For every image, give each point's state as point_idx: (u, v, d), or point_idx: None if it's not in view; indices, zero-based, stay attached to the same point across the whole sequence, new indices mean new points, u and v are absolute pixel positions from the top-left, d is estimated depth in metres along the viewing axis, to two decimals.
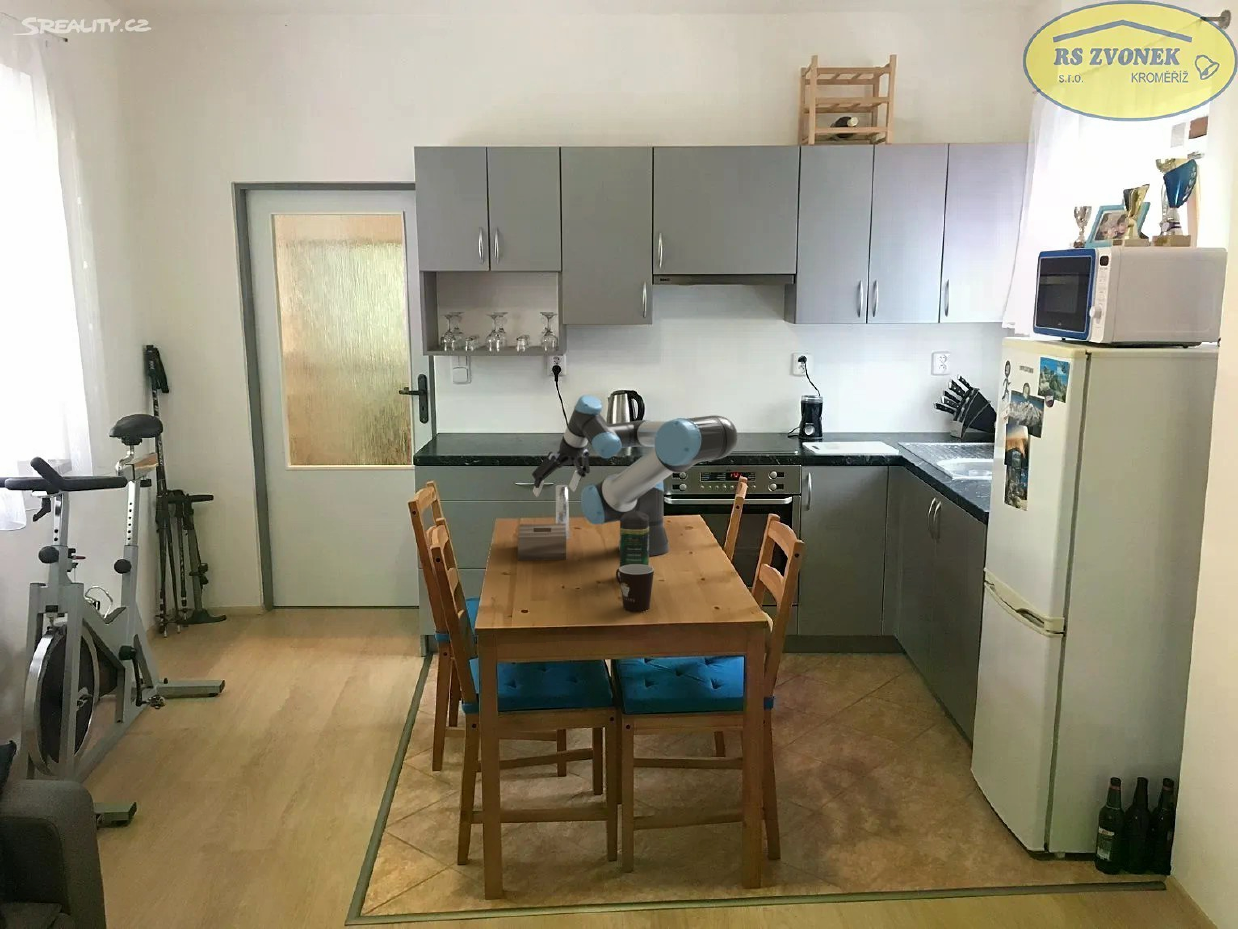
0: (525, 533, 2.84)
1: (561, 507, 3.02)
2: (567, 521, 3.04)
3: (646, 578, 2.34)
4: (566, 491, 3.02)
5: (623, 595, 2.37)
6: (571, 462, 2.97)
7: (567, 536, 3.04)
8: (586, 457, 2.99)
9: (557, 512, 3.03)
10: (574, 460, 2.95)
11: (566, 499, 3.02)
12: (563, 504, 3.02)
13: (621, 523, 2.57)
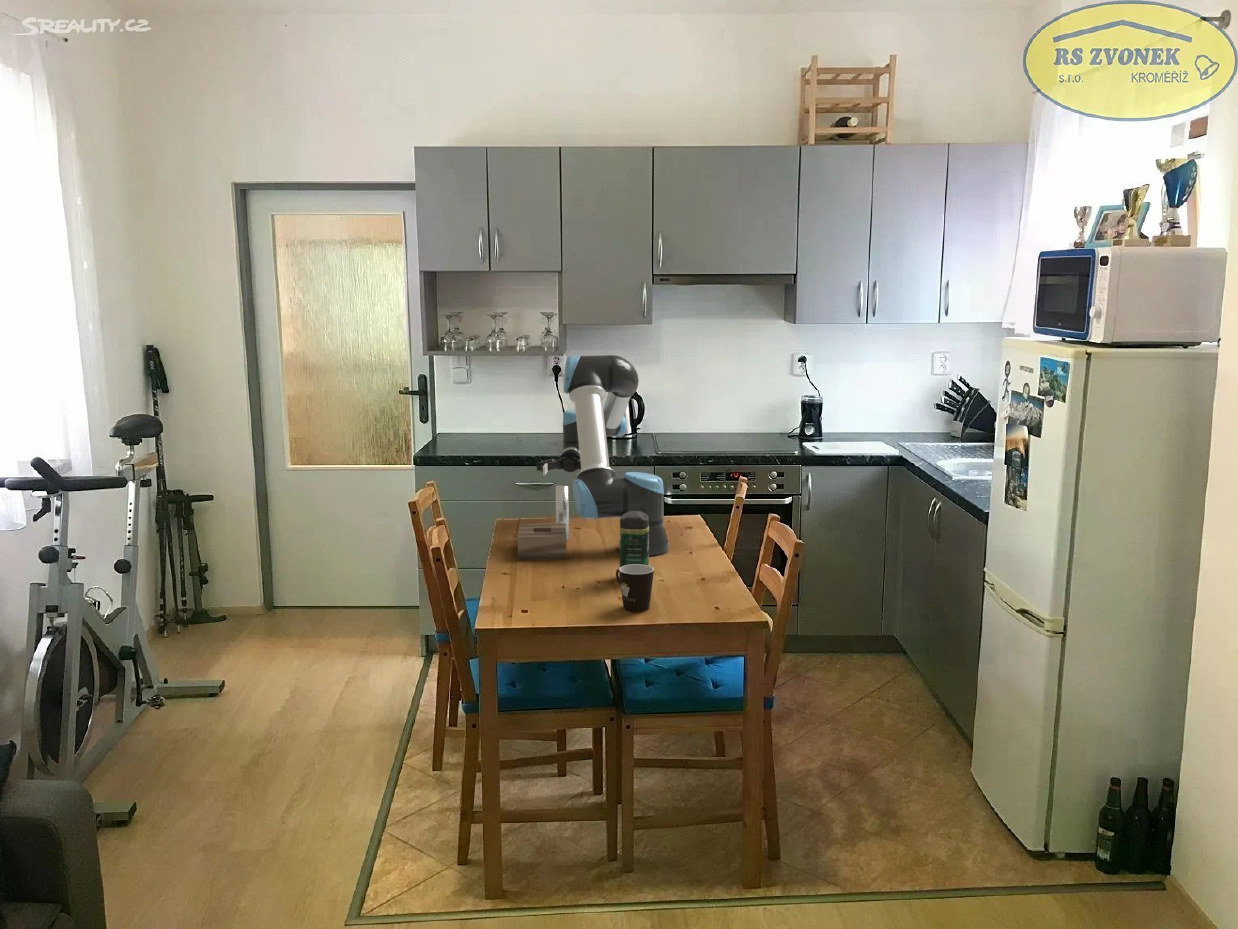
0: (525, 533, 2.84)
1: (561, 507, 3.02)
2: (567, 521, 3.04)
3: (646, 578, 2.34)
4: (566, 491, 3.02)
5: (623, 595, 2.37)
6: (572, 460, 3.24)
7: (567, 536, 3.04)
8: None
9: (557, 512, 3.03)
10: (572, 457, 3.26)
11: (566, 499, 3.02)
12: (563, 504, 3.02)
13: (621, 523, 2.57)
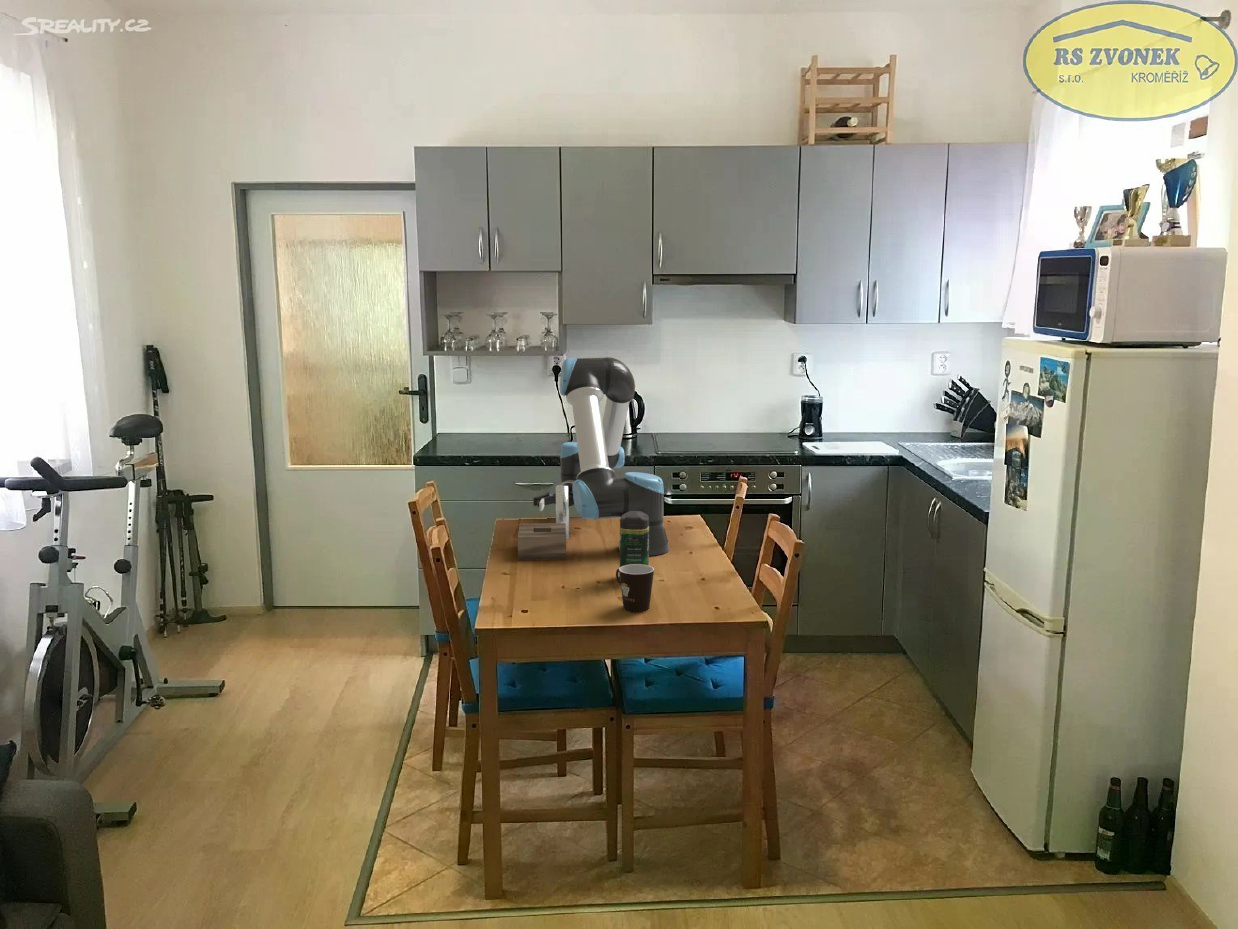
0: (525, 533, 2.84)
1: (561, 507, 3.02)
2: (567, 521, 3.04)
3: (646, 578, 2.34)
4: (566, 491, 3.02)
5: (623, 595, 2.37)
6: (569, 495, 3.18)
7: (567, 536, 3.04)
8: None
9: (557, 512, 3.03)
10: (570, 491, 3.19)
11: (566, 499, 3.02)
12: (563, 504, 3.02)
13: (621, 523, 2.57)
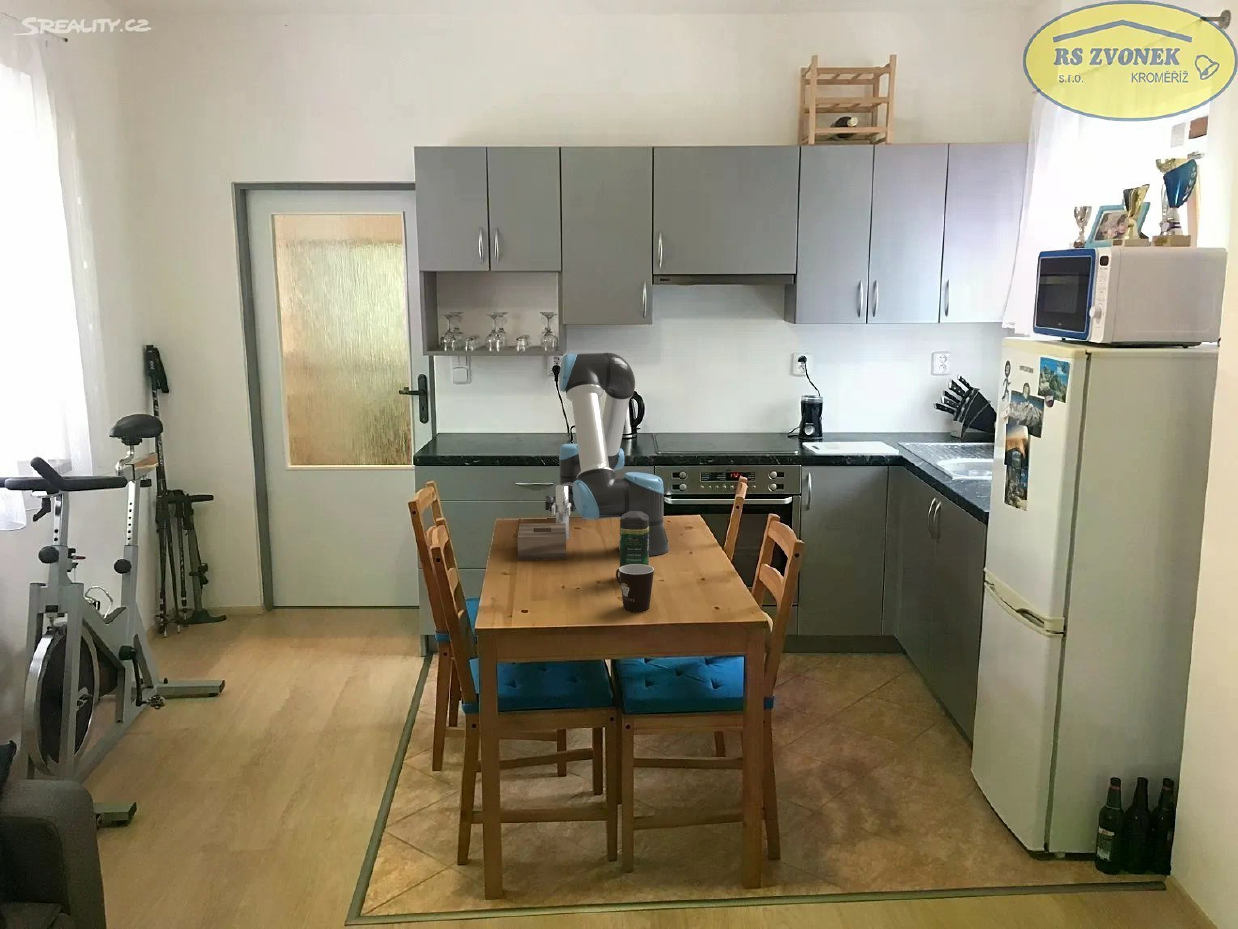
0: (525, 533, 2.84)
1: (561, 507, 3.02)
2: (567, 521, 3.04)
3: (646, 578, 2.34)
4: (566, 491, 3.02)
5: (623, 595, 2.37)
6: (569, 497, 3.13)
7: (567, 536, 3.04)
8: None
9: (557, 512, 3.03)
10: (569, 494, 3.15)
11: (566, 499, 3.02)
12: (563, 504, 3.02)
13: (621, 523, 2.57)
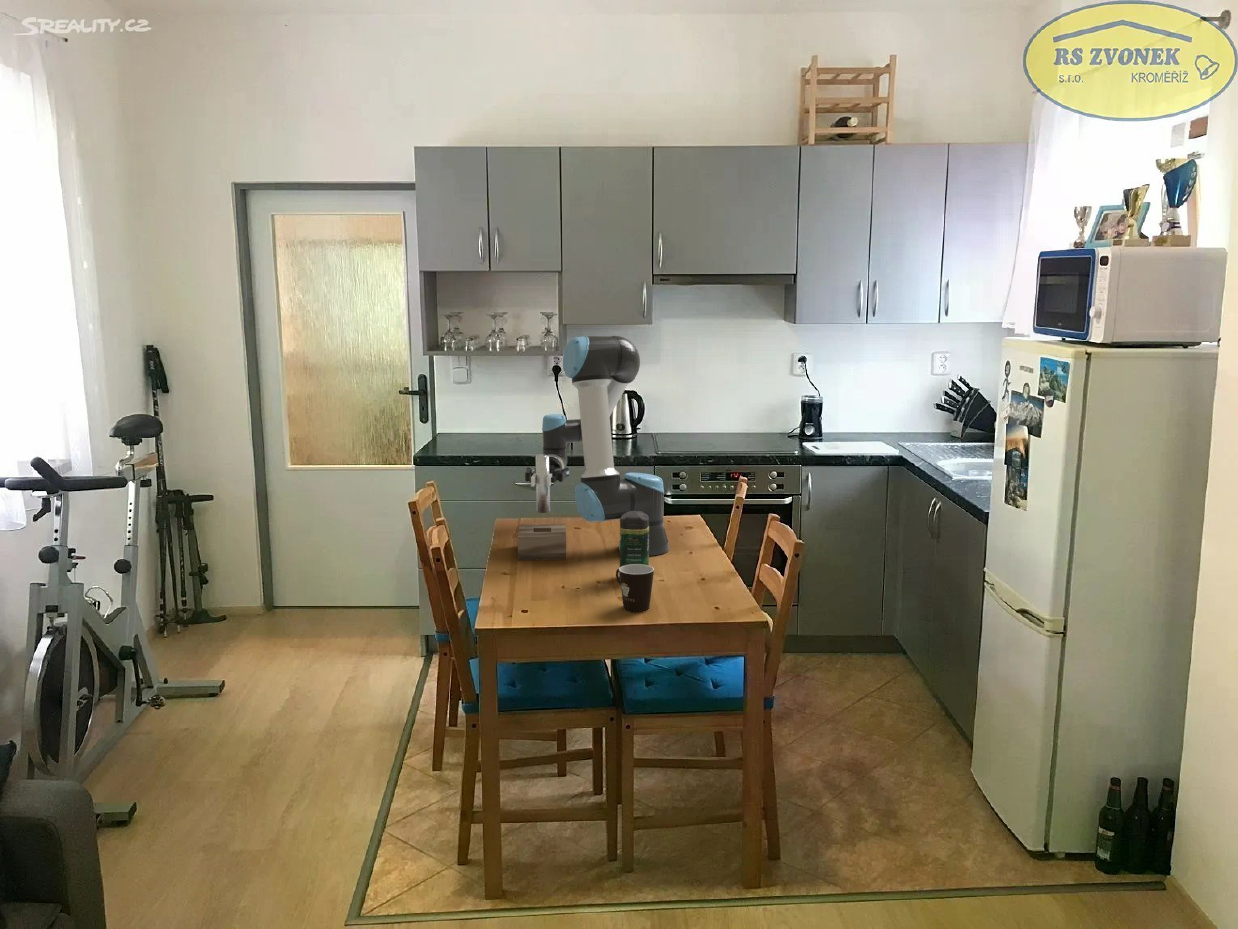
0: (525, 533, 2.84)
1: (541, 478, 2.87)
2: (548, 493, 2.88)
3: (646, 578, 2.34)
4: (546, 461, 2.86)
5: (623, 595, 2.37)
6: None
7: (548, 508, 2.89)
8: (564, 469, 2.98)
9: (537, 483, 2.88)
10: (551, 465, 2.99)
11: (547, 469, 2.87)
12: (543, 474, 2.86)
13: (621, 523, 2.57)
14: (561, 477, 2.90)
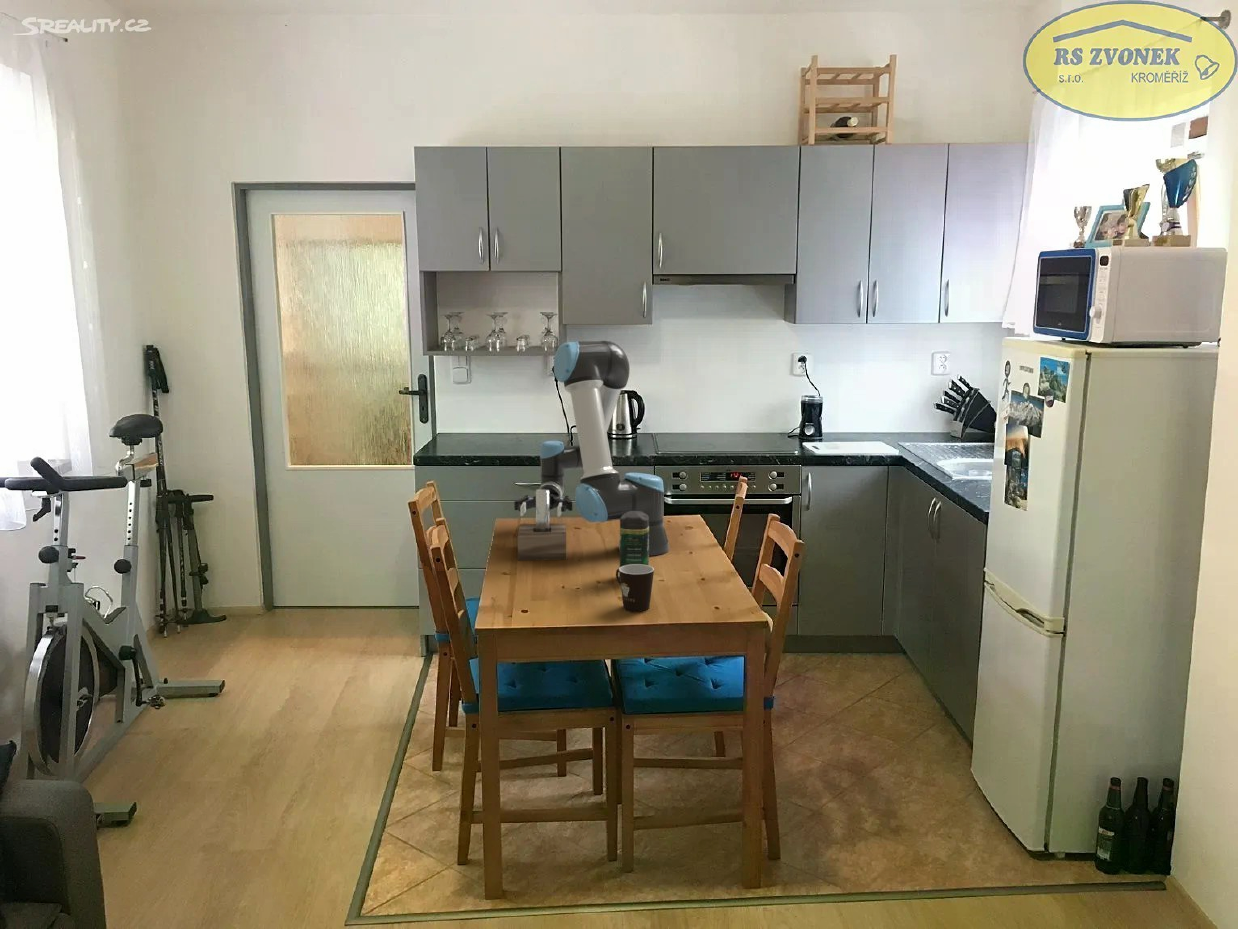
0: (525, 533, 2.84)
1: (541, 513, 2.85)
2: (547, 527, 2.87)
3: (646, 578, 2.34)
4: (547, 496, 2.85)
5: (623, 595, 2.37)
6: None
7: None
8: (565, 497, 2.97)
9: (537, 518, 2.86)
10: (550, 494, 2.98)
11: (547, 504, 2.86)
12: (543, 509, 2.85)
13: (621, 523, 2.57)
14: (571, 506, 2.90)
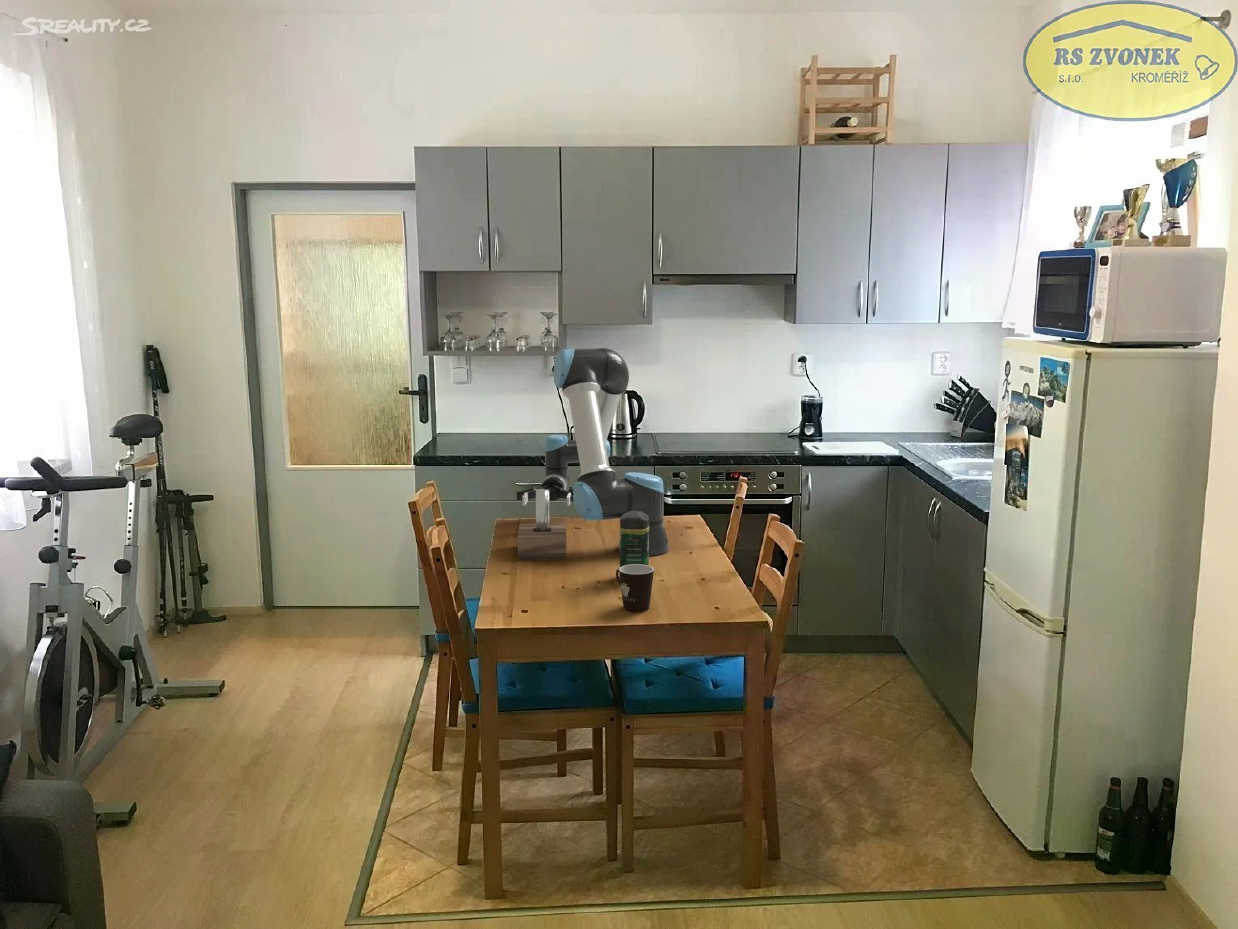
0: (525, 533, 2.84)
1: (541, 512, 2.86)
2: (547, 527, 2.87)
3: (646, 578, 2.34)
4: (547, 496, 2.85)
5: (623, 595, 2.37)
6: (554, 489, 3.09)
7: None
8: (570, 488, 3.10)
9: (537, 518, 2.86)
10: (554, 485, 3.10)
11: (547, 504, 2.86)
12: (543, 509, 2.85)
13: (621, 523, 2.57)
14: None
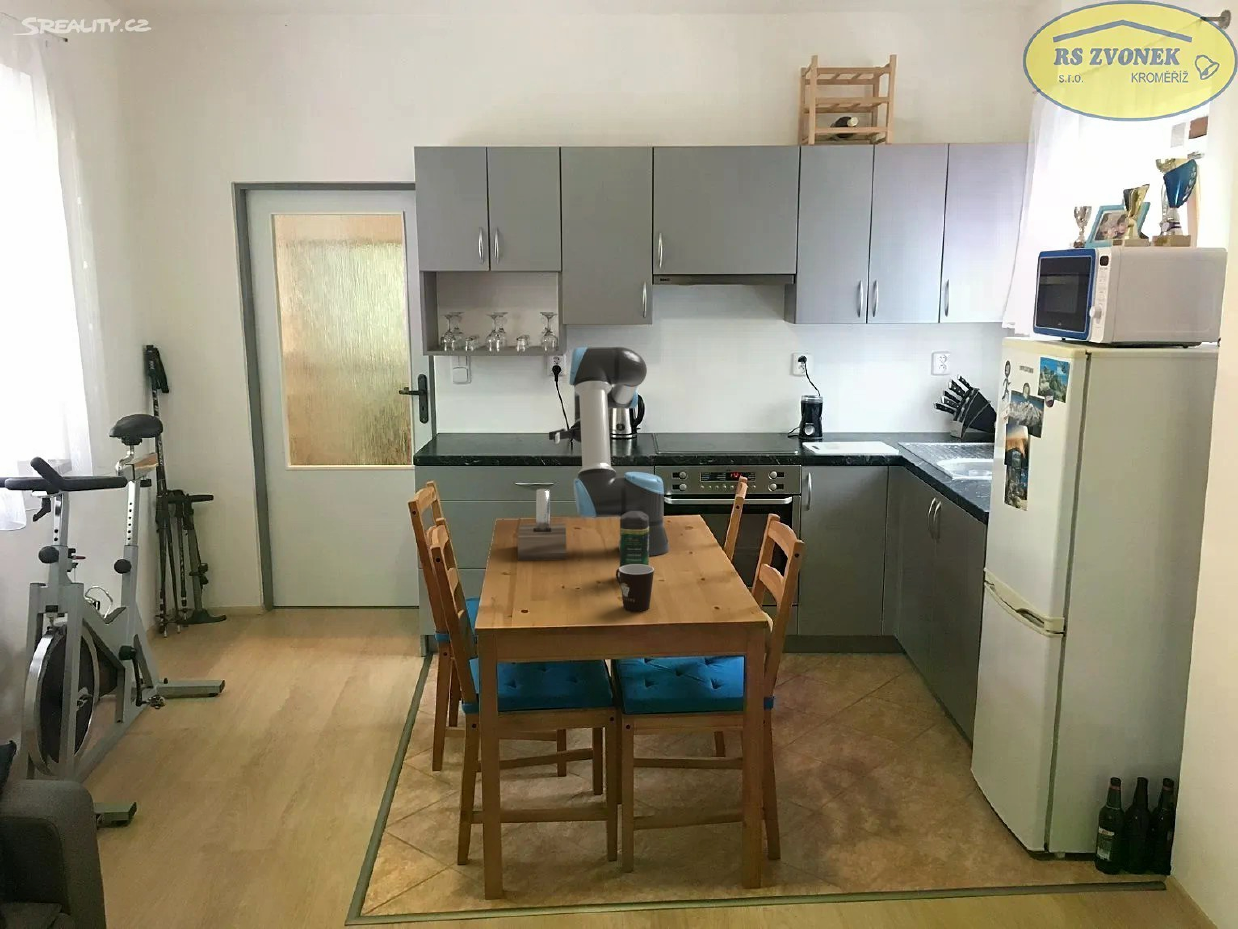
0: (525, 533, 2.84)
1: (541, 513, 2.85)
2: (548, 527, 2.87)
3: (646, 578, 2.34)
4: (547, 496, 2.85)
5: (623, 595, 2.37)
6: None
7: None
8: None
9: (537, 518, 2.86)
10: None
11: (547, 504, 2.85)
12: (544, 509, 2.85)
13: (621, 523, 2.57)
14: (609, 436, 3.18)
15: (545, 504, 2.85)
